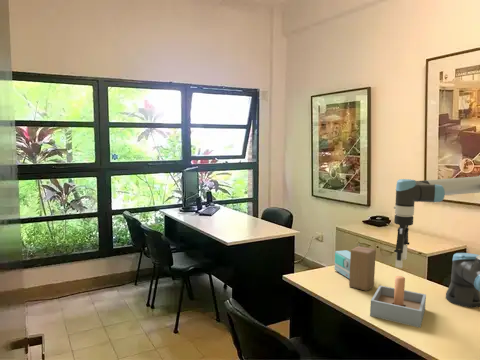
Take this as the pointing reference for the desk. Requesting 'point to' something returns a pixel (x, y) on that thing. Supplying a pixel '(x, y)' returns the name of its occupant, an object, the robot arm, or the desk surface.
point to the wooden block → (362, 268)
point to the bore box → (403, 314)
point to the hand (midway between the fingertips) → (401, 262)
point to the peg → (399, 290)
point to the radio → (343, 262)
